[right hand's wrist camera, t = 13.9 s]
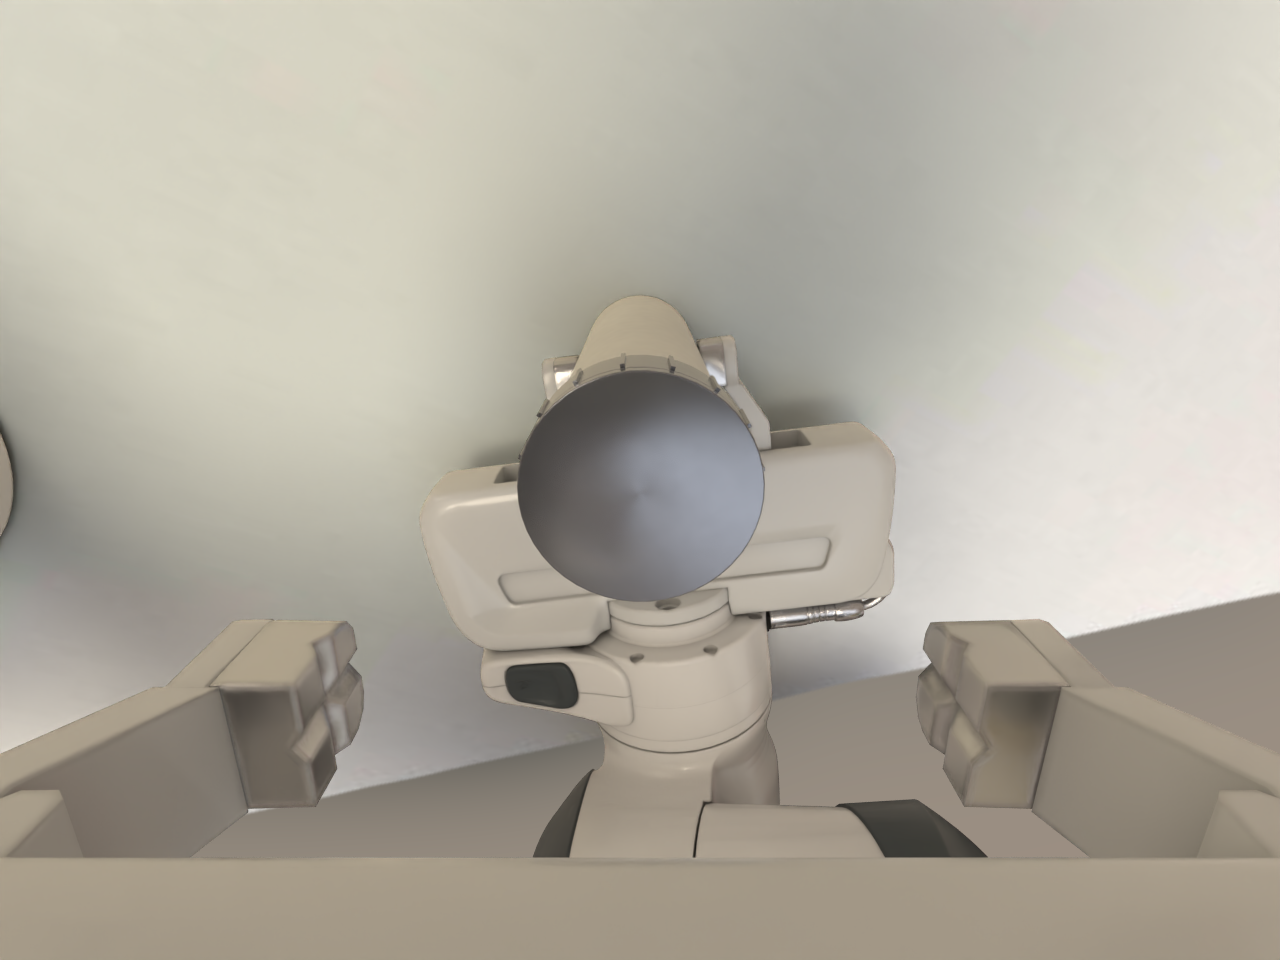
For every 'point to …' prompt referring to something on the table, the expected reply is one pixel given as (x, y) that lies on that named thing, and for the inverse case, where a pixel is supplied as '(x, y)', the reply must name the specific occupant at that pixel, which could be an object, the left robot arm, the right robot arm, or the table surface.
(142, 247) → the table surface
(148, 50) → the table surface
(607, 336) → the beige tall cylinder
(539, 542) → the lid
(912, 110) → the table surface
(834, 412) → the table surface
